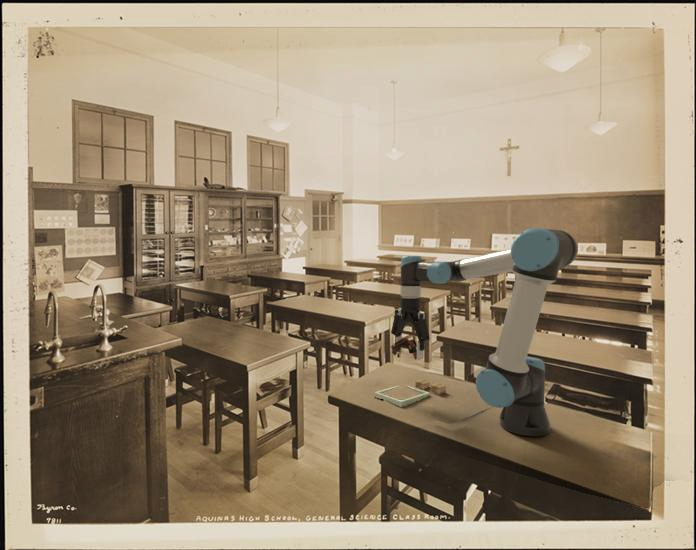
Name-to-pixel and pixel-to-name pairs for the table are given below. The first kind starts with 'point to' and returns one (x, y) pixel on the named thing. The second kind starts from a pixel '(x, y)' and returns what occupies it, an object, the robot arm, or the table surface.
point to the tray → (402, 402)
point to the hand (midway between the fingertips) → (409, 356)
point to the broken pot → (405, 346)
